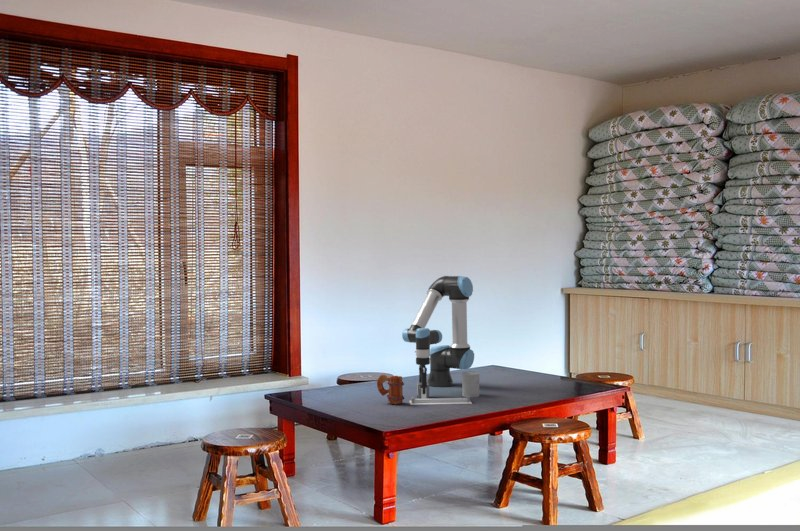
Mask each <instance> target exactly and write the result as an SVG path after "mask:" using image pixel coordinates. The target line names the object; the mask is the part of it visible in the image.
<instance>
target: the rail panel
mask: <svg viewBox="0 0 800 531" xmlns="http://www.w3.org/2000/svg"><path fill="white" fill-rule="evenodd" d="M470 399H471V397H469V396H466V397H444V398H441V397H440V398H430V397H429V399H418V398H414V396H411V399H410V400H409V401H408V402H409V404H410V406H421V405H422V406H424V405H425V406H426V405H427V406H428V405H432V406H433V405H472V404H473V403H472V401H471V400H470Z"/></svg>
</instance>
